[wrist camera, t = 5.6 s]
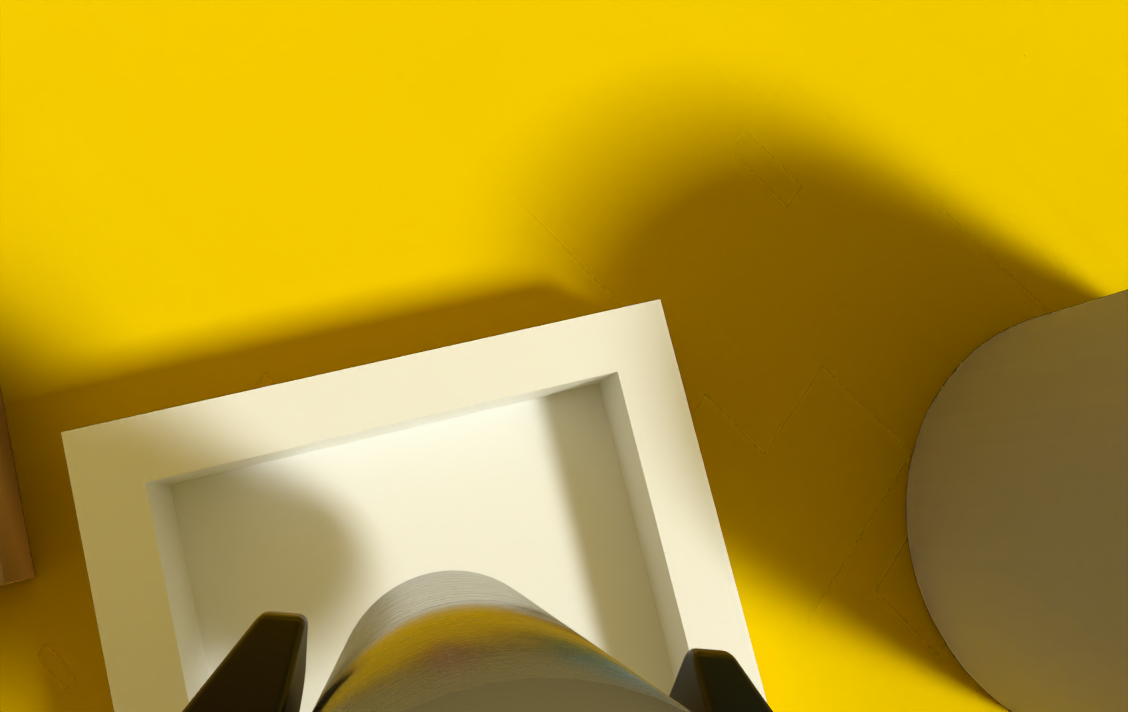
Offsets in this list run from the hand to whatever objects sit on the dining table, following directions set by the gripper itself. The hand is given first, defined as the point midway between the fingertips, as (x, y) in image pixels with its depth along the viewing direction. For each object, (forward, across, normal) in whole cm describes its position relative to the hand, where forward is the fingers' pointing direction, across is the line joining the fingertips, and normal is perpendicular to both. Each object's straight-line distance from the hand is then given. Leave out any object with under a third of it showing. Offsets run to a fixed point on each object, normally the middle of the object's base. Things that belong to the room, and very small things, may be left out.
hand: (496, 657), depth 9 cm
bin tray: (+7, 0, +9) cm, 11 cm away
